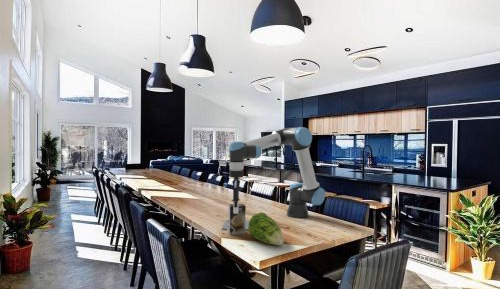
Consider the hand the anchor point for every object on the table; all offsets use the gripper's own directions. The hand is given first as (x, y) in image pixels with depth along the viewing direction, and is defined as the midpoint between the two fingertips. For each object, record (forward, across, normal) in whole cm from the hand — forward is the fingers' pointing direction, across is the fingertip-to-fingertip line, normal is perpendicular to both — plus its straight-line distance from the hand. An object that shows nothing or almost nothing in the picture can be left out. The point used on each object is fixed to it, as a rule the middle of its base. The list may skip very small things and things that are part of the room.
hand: (235, 212), depth 164 cm
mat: (+13, -21, 0) cm, 25 cm away
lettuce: (+14, +6, +17) cm, 23 cm away
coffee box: (+13, -7, 0) cm, 15 cm away
